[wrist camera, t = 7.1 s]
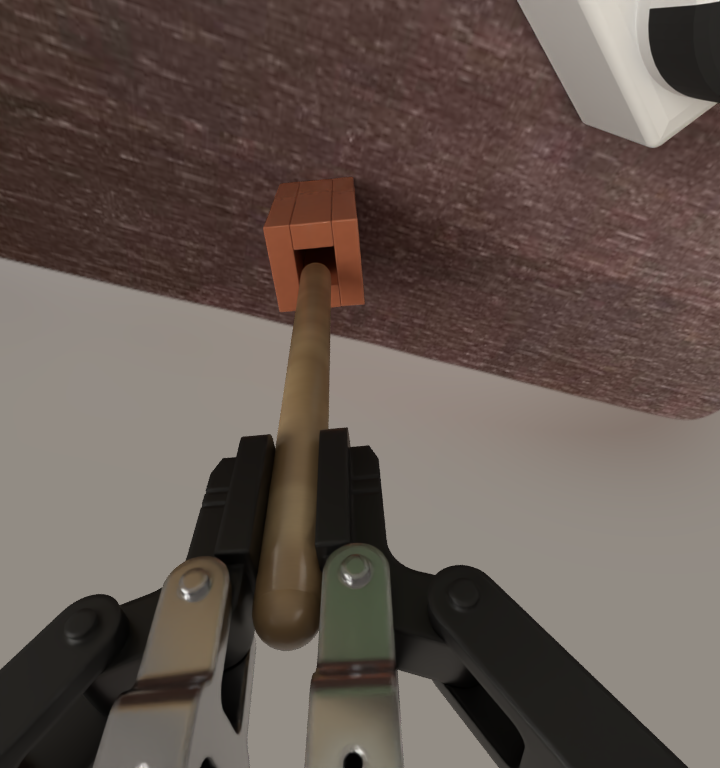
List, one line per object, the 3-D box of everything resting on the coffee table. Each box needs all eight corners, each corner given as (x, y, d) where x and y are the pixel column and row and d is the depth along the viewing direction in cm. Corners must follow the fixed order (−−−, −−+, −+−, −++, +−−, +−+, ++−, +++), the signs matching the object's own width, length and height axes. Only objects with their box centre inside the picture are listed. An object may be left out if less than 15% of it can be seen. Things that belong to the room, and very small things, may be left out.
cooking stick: (303, 287, 24) (255, 668, 9) (299, 259, 23) (238, 628, 9) (332, 284, 24) (328, 661, 9) (329, 256, 23) (318, 622, 9)
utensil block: (291, 254, 31) (279, 312, 25) (279, 183, 29) (262, 227, 22) (359, 248, 31) (364, 304, 25) (353, 176, 29) (357, 218, 22)
